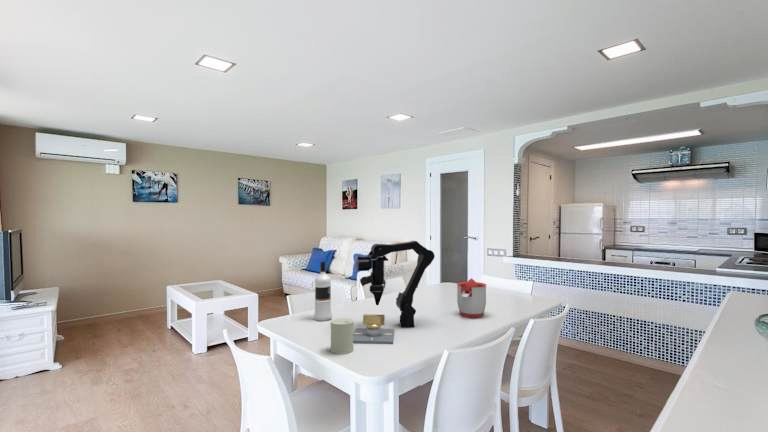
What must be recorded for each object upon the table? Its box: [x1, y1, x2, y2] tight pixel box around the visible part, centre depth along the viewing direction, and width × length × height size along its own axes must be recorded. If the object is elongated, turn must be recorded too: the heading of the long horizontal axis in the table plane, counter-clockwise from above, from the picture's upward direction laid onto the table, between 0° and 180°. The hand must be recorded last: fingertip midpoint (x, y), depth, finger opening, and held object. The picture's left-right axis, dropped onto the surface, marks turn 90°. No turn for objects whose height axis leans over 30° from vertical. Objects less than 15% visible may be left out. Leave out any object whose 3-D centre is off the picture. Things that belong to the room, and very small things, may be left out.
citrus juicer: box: [456, 277, 487, 319], centre depth 198 cm, size 16×17×20 cm
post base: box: [353, 327, 396, 345], centre depth 163 cm, size 18×18×4 cm
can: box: [329, 317, 354, 355], centre depth 147 cm, size 9×9×12 cm
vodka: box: [313, 260, 333, 322], centre depth 192 cm, size 9×9×30 cm
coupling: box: [362, 313, 386, 329], centre depth 163 cm, size 6×9×5 cm
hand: (378, 302), depth 176 cm, fingers open, 9 cm apart
